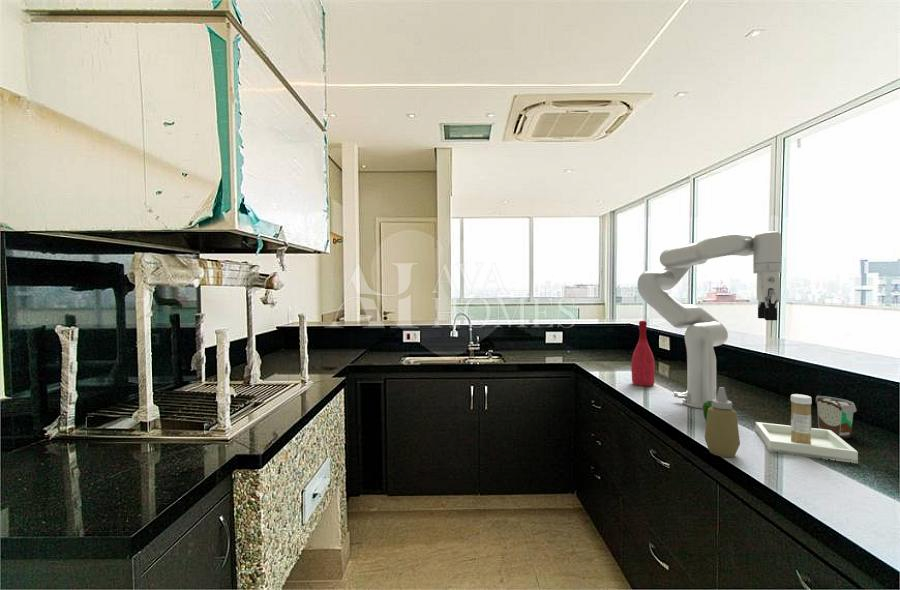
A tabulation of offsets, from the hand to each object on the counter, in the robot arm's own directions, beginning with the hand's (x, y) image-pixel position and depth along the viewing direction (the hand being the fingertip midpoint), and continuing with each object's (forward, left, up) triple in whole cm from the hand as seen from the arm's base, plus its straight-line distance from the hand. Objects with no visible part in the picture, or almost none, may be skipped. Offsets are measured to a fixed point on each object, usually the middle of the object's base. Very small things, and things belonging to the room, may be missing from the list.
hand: (767, 319), depth 139 cm
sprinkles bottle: (+3, -24, -34) cm, 41 cm away
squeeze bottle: (-18, -40, -34) cm, 56 cm away
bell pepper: (-16, -16, -34) cm, 41 cm away
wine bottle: (-39, +41, -34) cm, 66 cm away
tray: (+3, -24, -34) cm, 42 cm away
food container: (+17, -6, -34) cm, 39 cm away
